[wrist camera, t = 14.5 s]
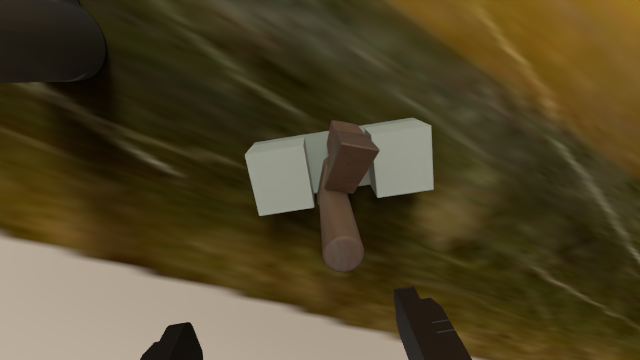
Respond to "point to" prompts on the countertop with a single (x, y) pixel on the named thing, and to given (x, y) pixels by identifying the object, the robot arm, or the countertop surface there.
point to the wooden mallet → (342, 194)
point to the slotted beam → (311, 149)
